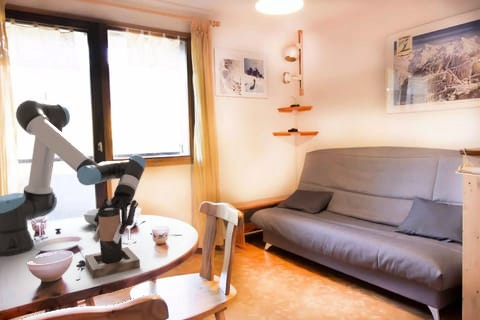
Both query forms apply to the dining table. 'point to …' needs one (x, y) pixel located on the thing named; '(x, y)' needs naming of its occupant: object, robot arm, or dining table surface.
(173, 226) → the dining table surface
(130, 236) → the dining table surface
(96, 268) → the walnut collar
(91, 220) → the cereal bowl
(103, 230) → the travel mug
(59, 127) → the robot arm
